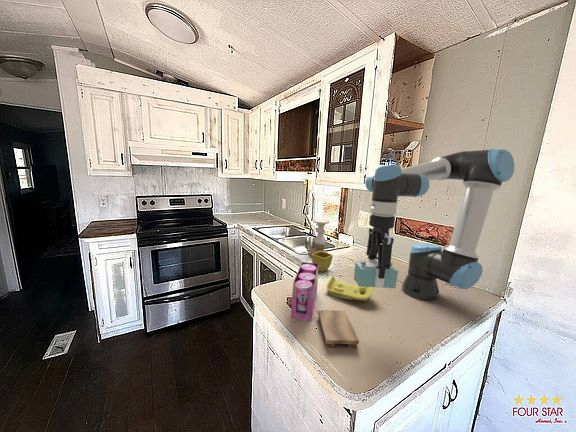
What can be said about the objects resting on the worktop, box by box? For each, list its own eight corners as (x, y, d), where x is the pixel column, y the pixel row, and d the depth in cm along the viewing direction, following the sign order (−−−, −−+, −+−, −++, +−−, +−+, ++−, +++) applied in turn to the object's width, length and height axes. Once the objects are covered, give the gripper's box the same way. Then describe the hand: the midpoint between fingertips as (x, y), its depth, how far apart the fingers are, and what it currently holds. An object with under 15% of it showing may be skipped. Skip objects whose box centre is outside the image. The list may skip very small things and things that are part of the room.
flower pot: (332, 269, 133) (333, 254, 131) (323, 274, 127) (324, 258, 125) (319, 265, 139) (320, 250, 137) (310, 269, 132) (311, 254, 131)
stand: (344, 318, 88) (345, 310, 88) (358, 349, 73) (358, 340, 72) (317, 317, 88) (318, 310, 88) (325, 348, 72) (326, 340, 72)
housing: (387, 280, 83) (390, 260, 82) (395, 288, 78) (398, 266, 76) (353, 278, 83) (356, 258, 82) (359, 286, 77) (361, 265, 76)
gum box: (311, 323, 84) (313, 288, 82) (289, 320, 86) (291, 285, 84) (317, 292, 108) (319, 263, 105) (300, 289, 109) (301, 261, 107)
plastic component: (324, 289, 106) (333, 273, 112) (327, 300, 109) (336, 284, 116) (369, 301, 94) (376, 282, 101) (371, 313, 97) (378, 294, 104)
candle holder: (314, 260, 147) (316, 222, 142) (308, 254, 157) (309, 219, 153) (330, 259, 150) (333, 222, 146) (323, 253, 160) (325, 218, 156)
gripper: (361, 209, 85) (354, 270, 89) (383, 219, 67) (374, 295, 71) (381, 210, 86) (374, 271, 90) (410, 220, 67) (399, 296, 71)
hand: (374, 281), depth 80 cm, fingers closed on housing, 6 cm apart
